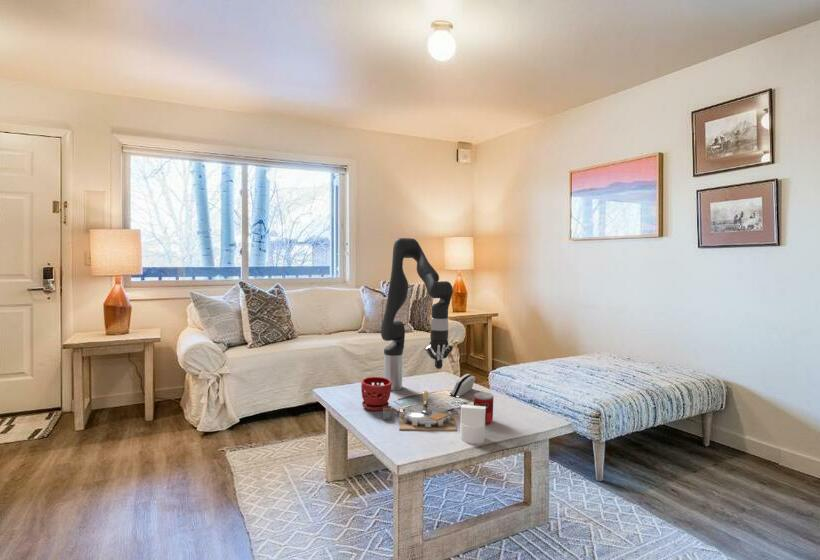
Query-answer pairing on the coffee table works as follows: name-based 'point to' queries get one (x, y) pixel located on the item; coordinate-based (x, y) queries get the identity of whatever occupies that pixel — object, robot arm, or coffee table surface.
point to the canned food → (485, 404)
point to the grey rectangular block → (386, 413)
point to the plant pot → (375, 393)
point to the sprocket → (426, 414)
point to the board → (409, 426)
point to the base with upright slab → (472, 424)
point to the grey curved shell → (463, 385)
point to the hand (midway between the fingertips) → (438, 368)
